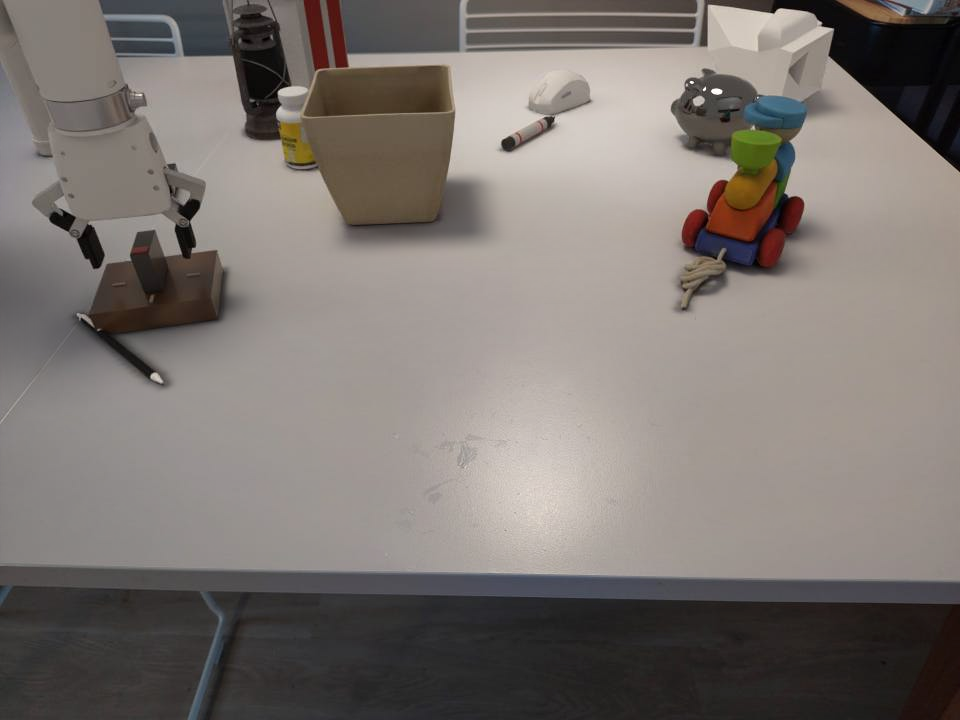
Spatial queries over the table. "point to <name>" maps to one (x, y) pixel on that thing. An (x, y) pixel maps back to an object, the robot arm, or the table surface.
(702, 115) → the piggy bank
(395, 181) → the flower pot
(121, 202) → the robot arm
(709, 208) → the toy train
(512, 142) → the marker
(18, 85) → the pipe
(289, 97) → the pill bottle
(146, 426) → the table surface
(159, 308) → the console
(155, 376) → the pen
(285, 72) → the lantern
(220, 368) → the table surface
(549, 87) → the computer mouse
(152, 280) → the dial knob
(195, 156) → the table surface
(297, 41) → the red white striped box
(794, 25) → the white angular block
